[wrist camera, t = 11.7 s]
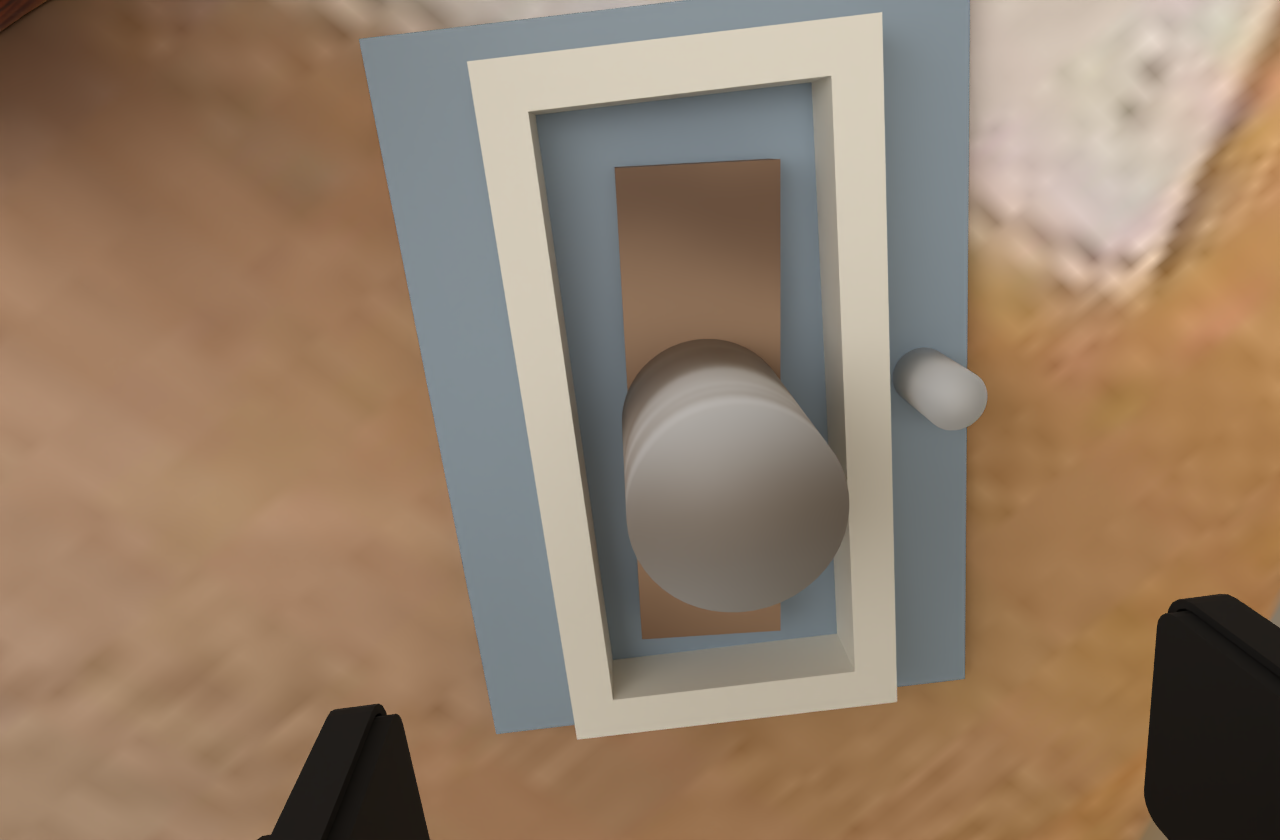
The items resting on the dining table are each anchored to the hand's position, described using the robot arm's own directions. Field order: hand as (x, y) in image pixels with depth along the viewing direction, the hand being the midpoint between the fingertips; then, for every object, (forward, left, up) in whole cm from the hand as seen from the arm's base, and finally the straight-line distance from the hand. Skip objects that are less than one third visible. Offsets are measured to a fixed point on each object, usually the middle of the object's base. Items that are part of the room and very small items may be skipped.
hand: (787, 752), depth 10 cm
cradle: (0, 0, -15) cm, 15 cm away
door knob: (0, 0, -14) cm, 14 cm away
